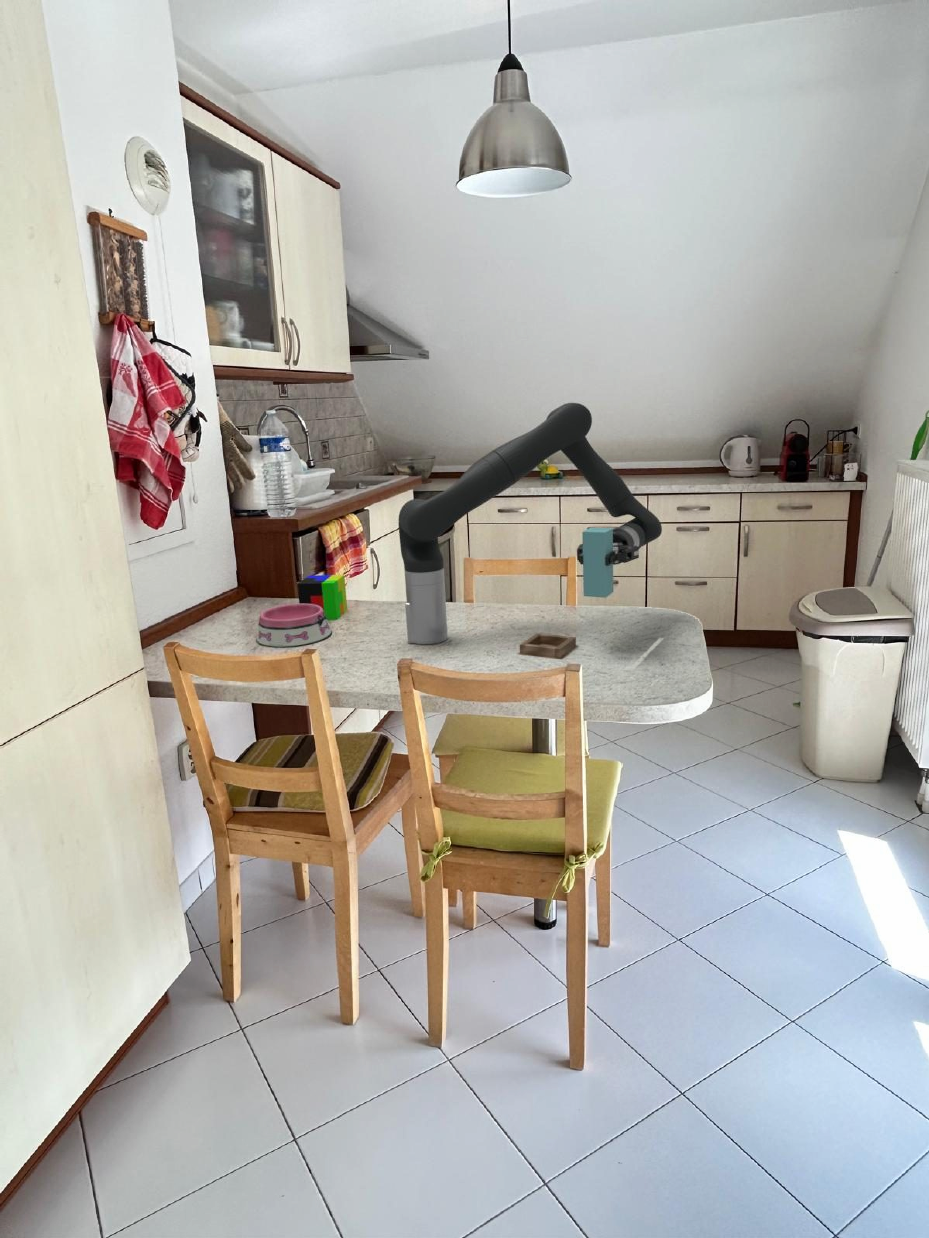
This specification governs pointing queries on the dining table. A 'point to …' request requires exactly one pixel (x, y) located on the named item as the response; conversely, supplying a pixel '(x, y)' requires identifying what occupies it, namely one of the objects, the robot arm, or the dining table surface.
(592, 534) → the block
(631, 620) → the dining table surface
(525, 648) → the square wooden tray
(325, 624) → the dog bowl
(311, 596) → the puzzle toy
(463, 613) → the dining table surface
